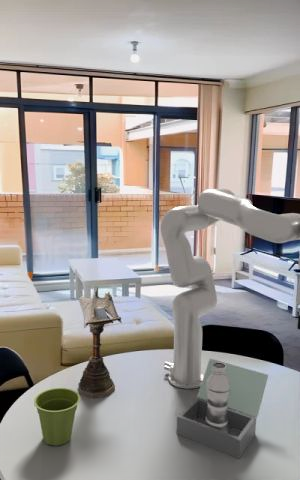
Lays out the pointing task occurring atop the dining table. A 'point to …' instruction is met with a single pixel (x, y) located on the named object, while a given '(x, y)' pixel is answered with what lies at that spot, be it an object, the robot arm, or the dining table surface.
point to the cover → (239, 388)
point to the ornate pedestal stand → (97, 344)
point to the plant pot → (57, 414)
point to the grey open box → (215, 436)
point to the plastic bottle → (217, 398)
